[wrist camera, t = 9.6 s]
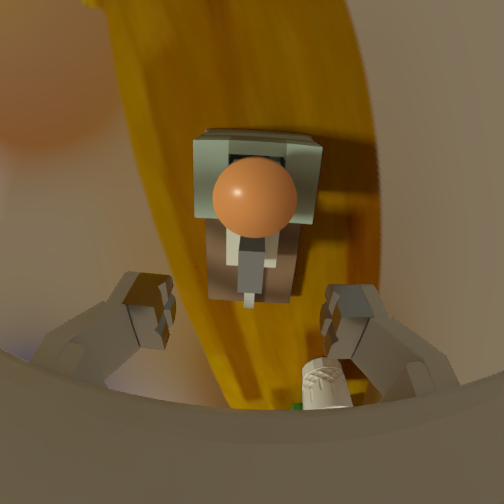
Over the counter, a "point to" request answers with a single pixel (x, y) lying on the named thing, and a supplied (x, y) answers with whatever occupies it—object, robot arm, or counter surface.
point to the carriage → (251, 259)
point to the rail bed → (280, 278)
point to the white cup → (324, 385)
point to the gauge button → (254, 197)
